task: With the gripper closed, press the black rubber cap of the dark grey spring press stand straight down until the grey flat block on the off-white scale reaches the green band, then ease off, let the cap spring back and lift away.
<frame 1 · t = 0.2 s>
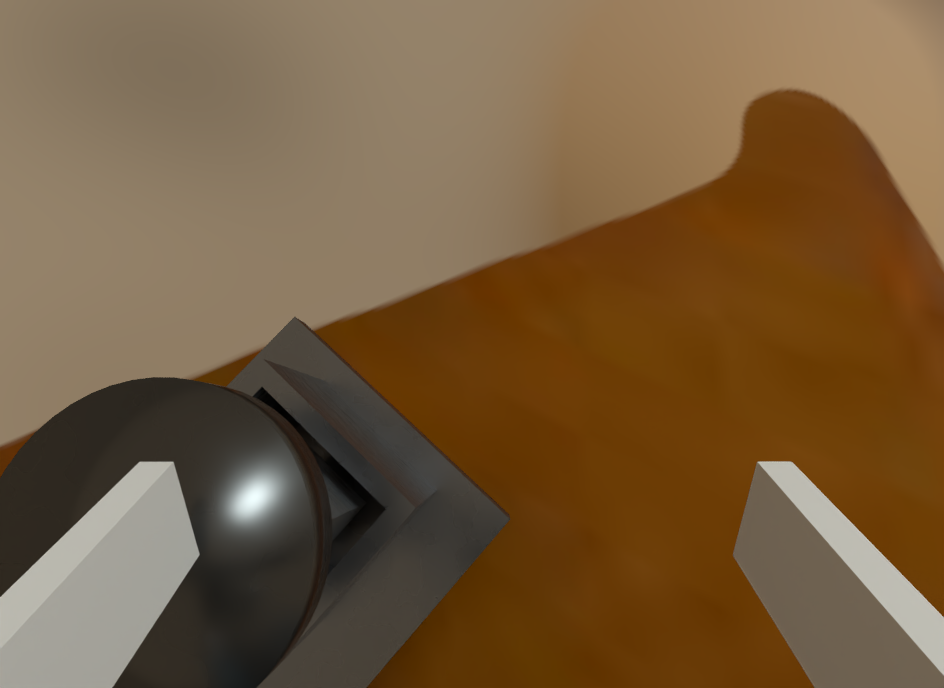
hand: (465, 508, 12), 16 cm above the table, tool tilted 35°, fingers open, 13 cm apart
plunger: (145, 615, 17), point 10 cm above the table, slide at 0.6 cm
press stand: (278, 549, 27), on the table
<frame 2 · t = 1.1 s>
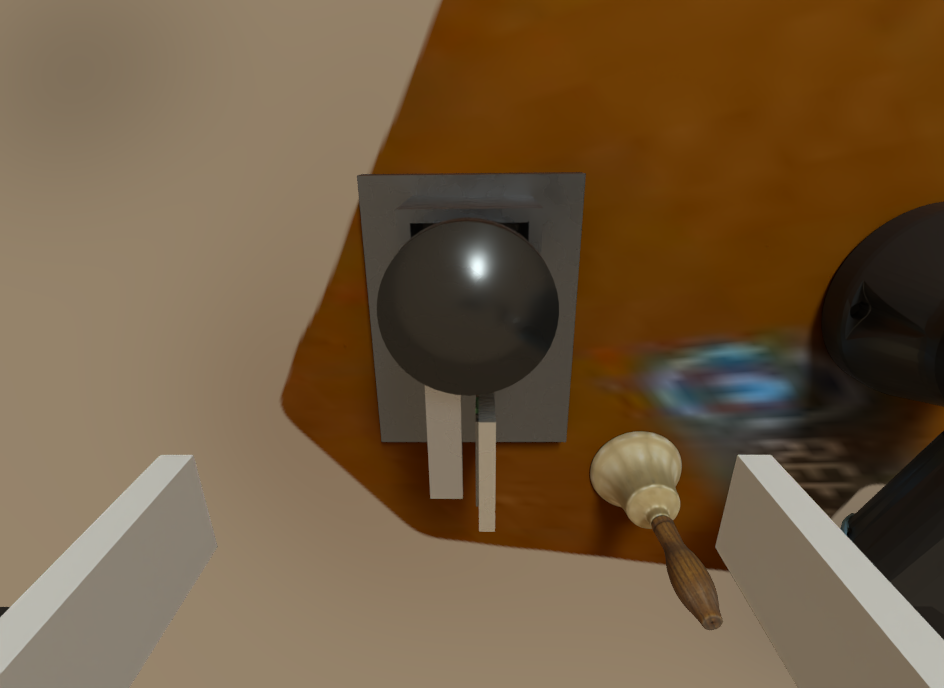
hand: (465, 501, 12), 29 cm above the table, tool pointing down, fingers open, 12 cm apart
plunger: (470, 353, 30), point 10 cm above the table, slide at 0.6 cm
hand bell: (634, 468, 46), on the table
press stand: (472, 301, 40), on the table
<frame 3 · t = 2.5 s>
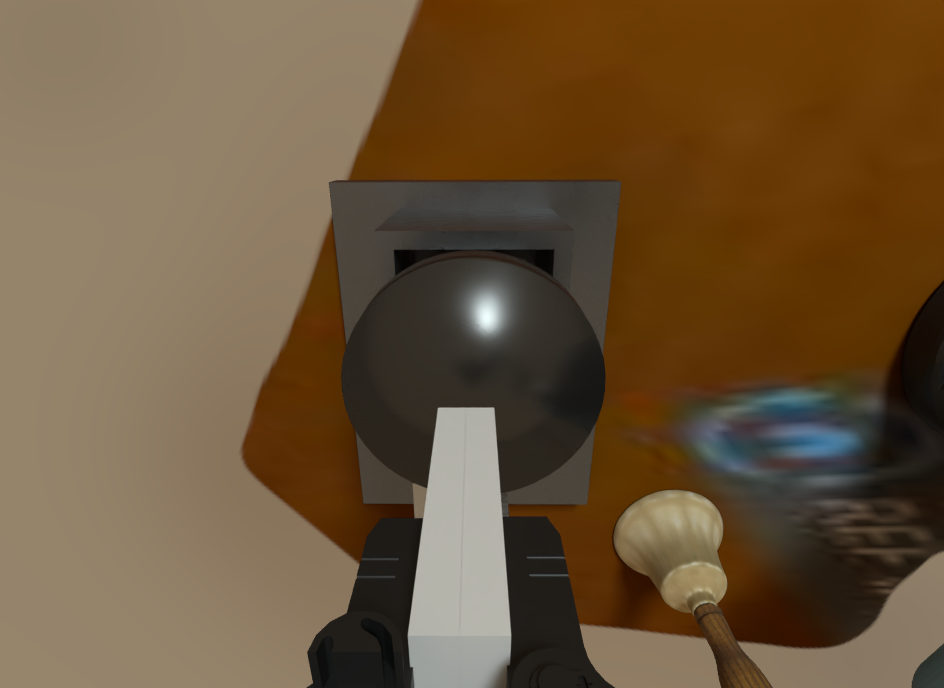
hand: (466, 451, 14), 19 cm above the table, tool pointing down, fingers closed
plunger: (473, 421, 23), point 10 cm above the table, slide at 0.6 cm
hand bell: (666, 530, 39), on the table
press stand: (474, 337, 32), on the table
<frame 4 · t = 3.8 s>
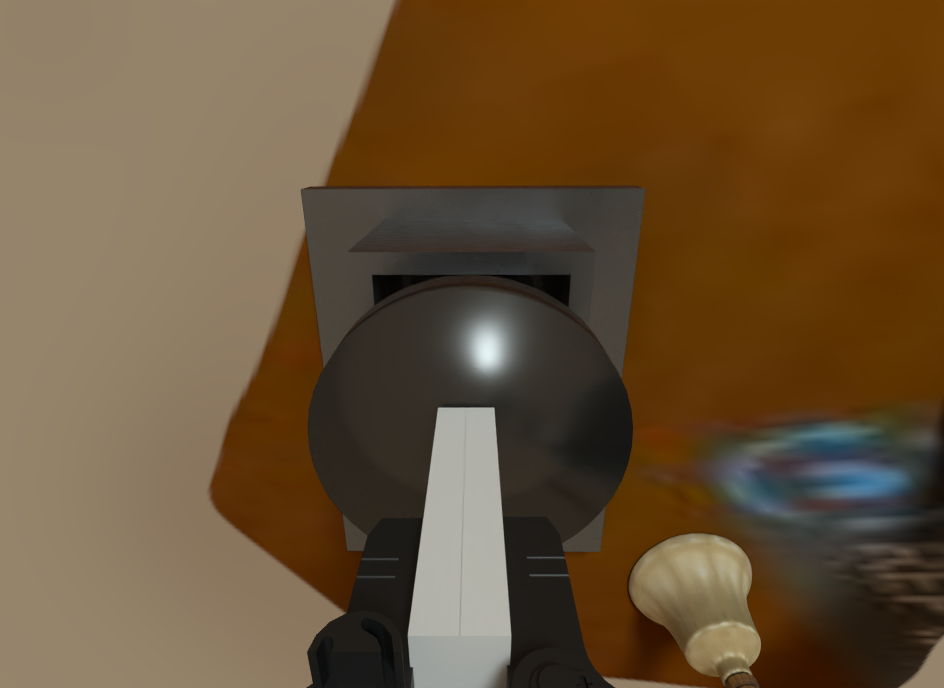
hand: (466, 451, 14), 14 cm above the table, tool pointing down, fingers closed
plunger: (471, 466, 20), point 9 cm above the table, slide at 1.7 cm, touching grey flat block, gripper
hand bell: (687, 576, 35), on the table
press stand: (473, 365, 28), on the table
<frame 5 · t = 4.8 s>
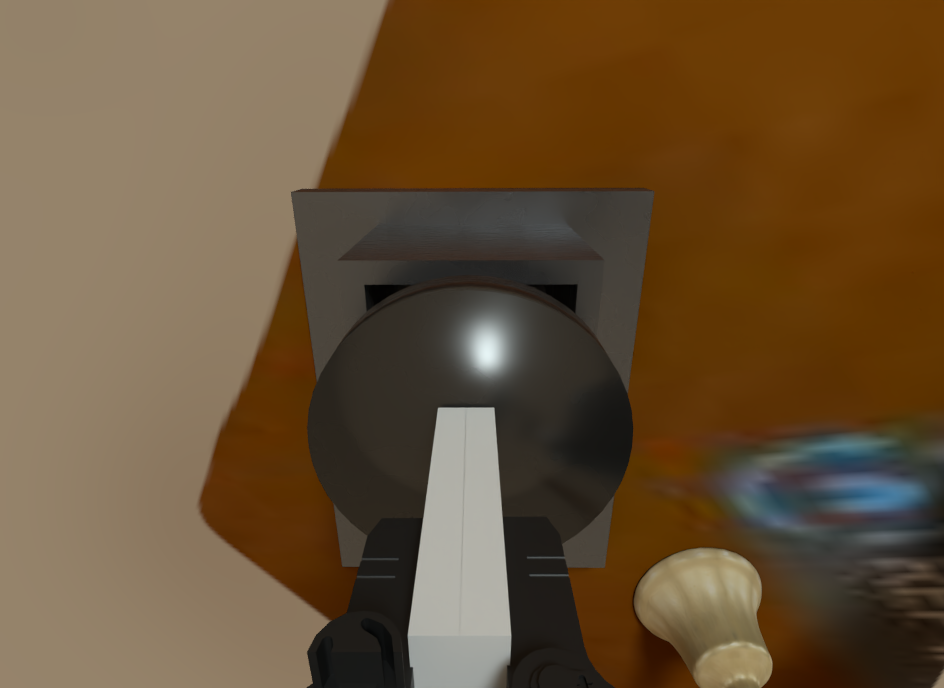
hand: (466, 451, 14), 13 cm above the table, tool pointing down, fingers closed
plunger: (471, 466, 20), point 8 cm above the table, slide at 2.9 cm, touching grey flat block, gripper
hand bell: (694, 591, 33), on the table
press stand: (472, 375, 27), on the table
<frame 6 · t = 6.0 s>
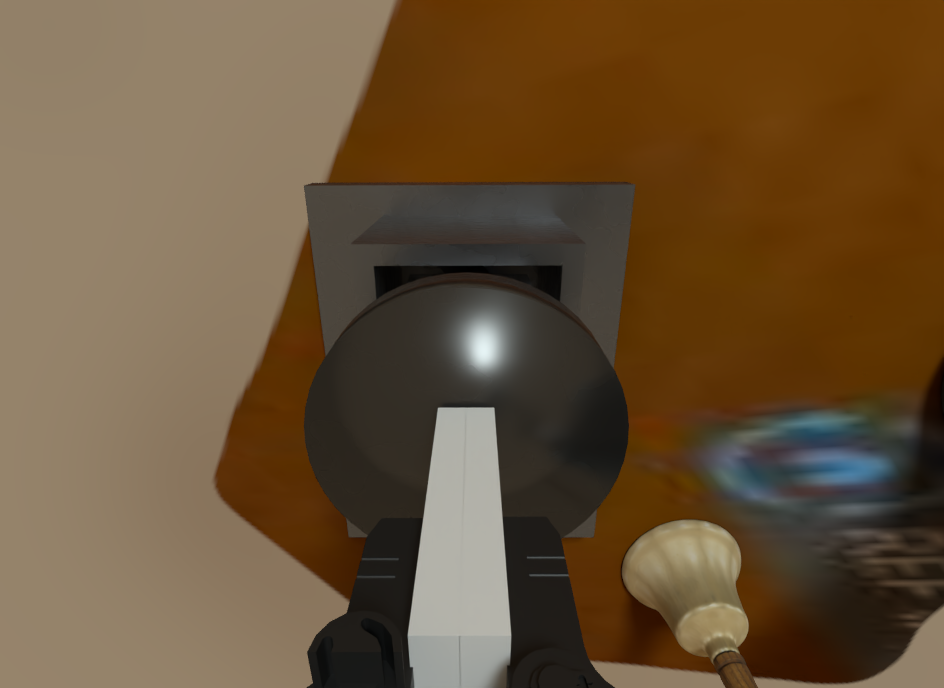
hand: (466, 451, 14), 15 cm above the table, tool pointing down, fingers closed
plunger: (468, 464, 20), point 10 cm above the table, slide at 0.6 cm
hand bell: (678, 562, 36), on the table
press stand: (470, 356, 29), on the table
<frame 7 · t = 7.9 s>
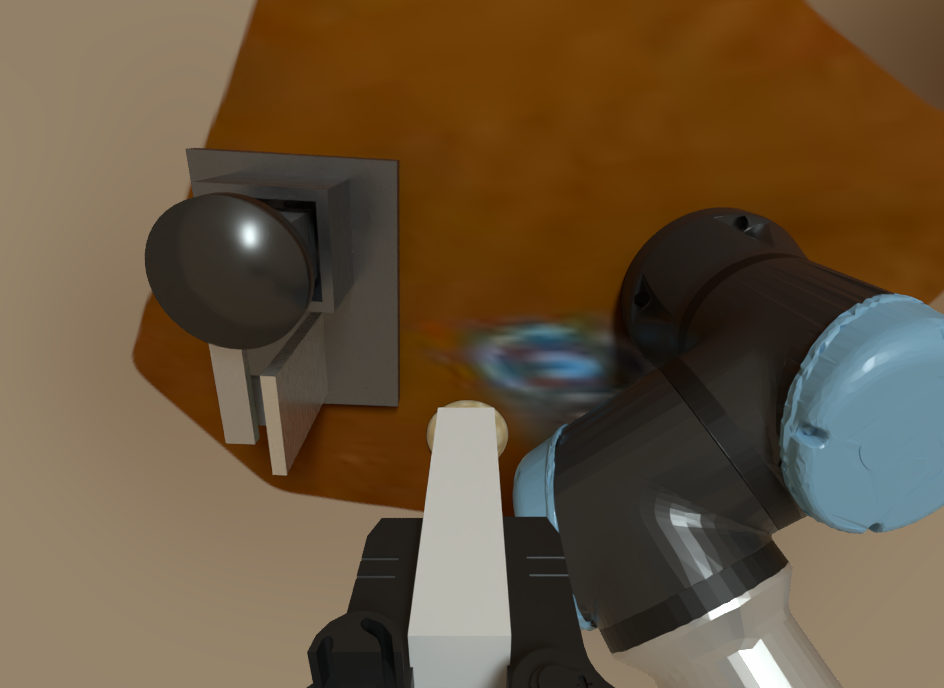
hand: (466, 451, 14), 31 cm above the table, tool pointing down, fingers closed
plunger: (264, 315, 34), point 10 cm above the table, slide at 0.6 cm
grey flat block: (256, 400, 37), point 10 cm above the table, slide at 2.6 cm
hand bell: (467, 433, 51), on the table
press stand: (307, 273, 43), on the table
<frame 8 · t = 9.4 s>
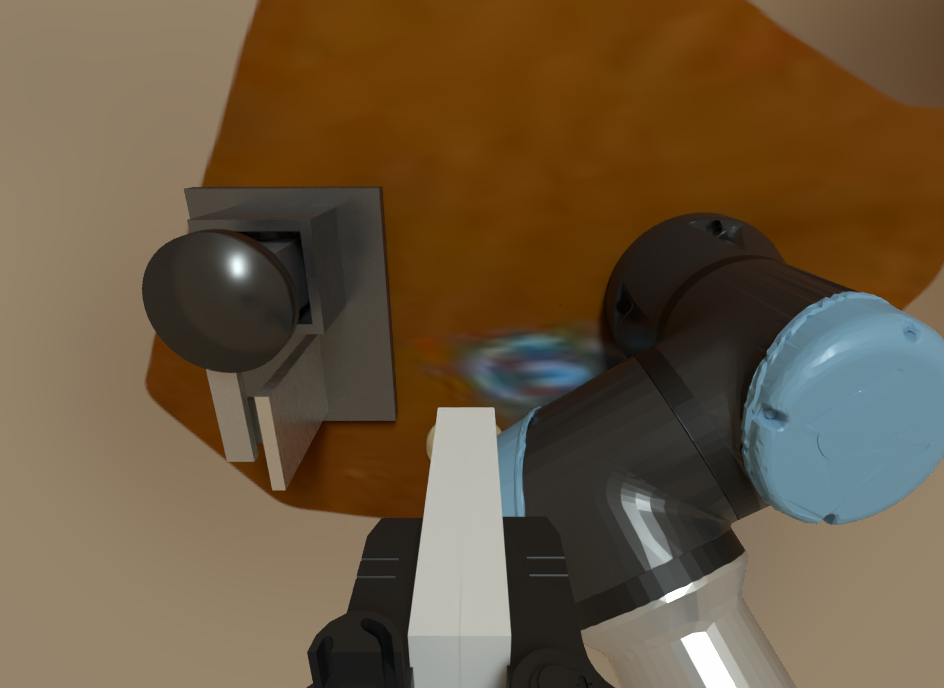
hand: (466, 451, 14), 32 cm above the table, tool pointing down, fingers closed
plunger: (257, 339, 36), point 10 cm above the table, slide at 0.6 cm
grey flat block: (255, 420, 39), point 10 cm above the table, slide at 2.6 cm
press stand: (303, 297, 46), on the table
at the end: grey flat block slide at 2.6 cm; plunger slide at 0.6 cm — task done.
